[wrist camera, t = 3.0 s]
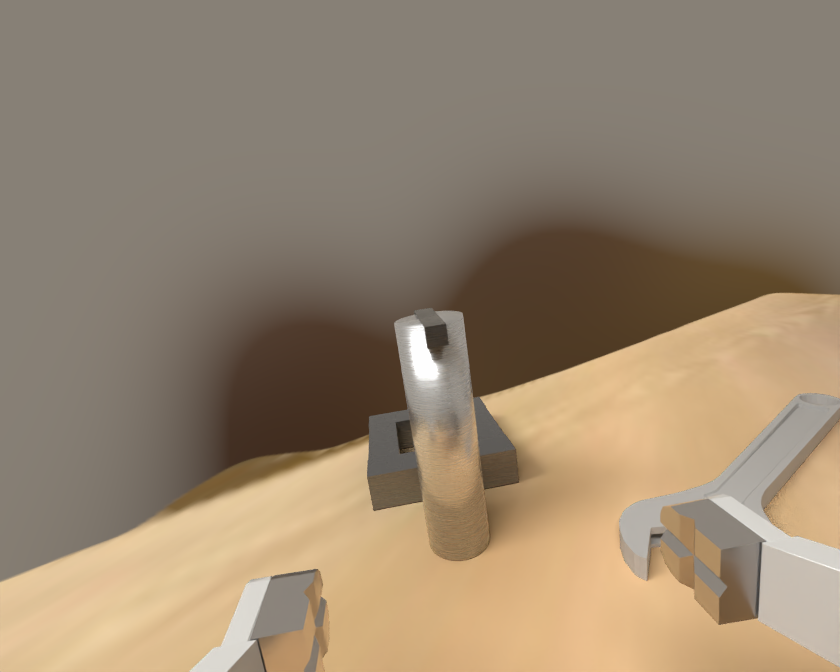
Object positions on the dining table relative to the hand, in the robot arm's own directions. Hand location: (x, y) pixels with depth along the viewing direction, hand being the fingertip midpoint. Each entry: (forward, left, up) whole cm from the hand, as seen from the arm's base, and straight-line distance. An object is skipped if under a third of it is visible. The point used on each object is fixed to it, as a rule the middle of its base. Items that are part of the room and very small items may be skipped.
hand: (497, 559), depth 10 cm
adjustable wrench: (-20, -12, -10) cm, 25 cm away
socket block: (0, -21, -9) cm, 23 cm away
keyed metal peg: (0, -12, -9) cm, 16 cm away
